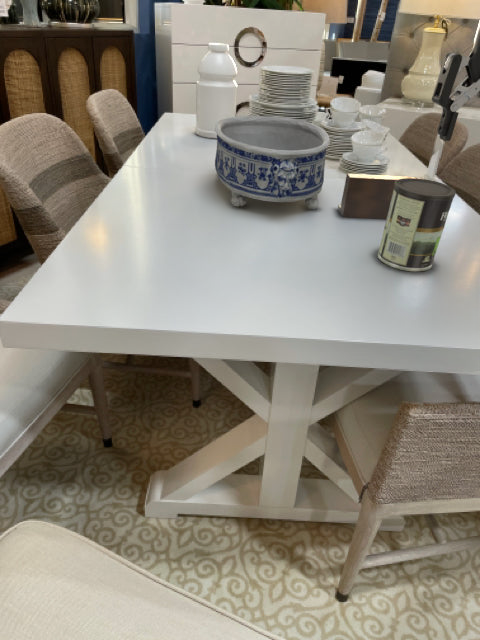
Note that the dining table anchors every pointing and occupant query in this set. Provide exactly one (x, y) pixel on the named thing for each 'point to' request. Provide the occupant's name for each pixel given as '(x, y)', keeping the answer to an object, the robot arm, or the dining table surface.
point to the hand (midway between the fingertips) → (473, 141)
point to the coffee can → (415, 223)
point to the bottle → (215, 89)
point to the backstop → (367, 195)
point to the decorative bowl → (271, 159)
